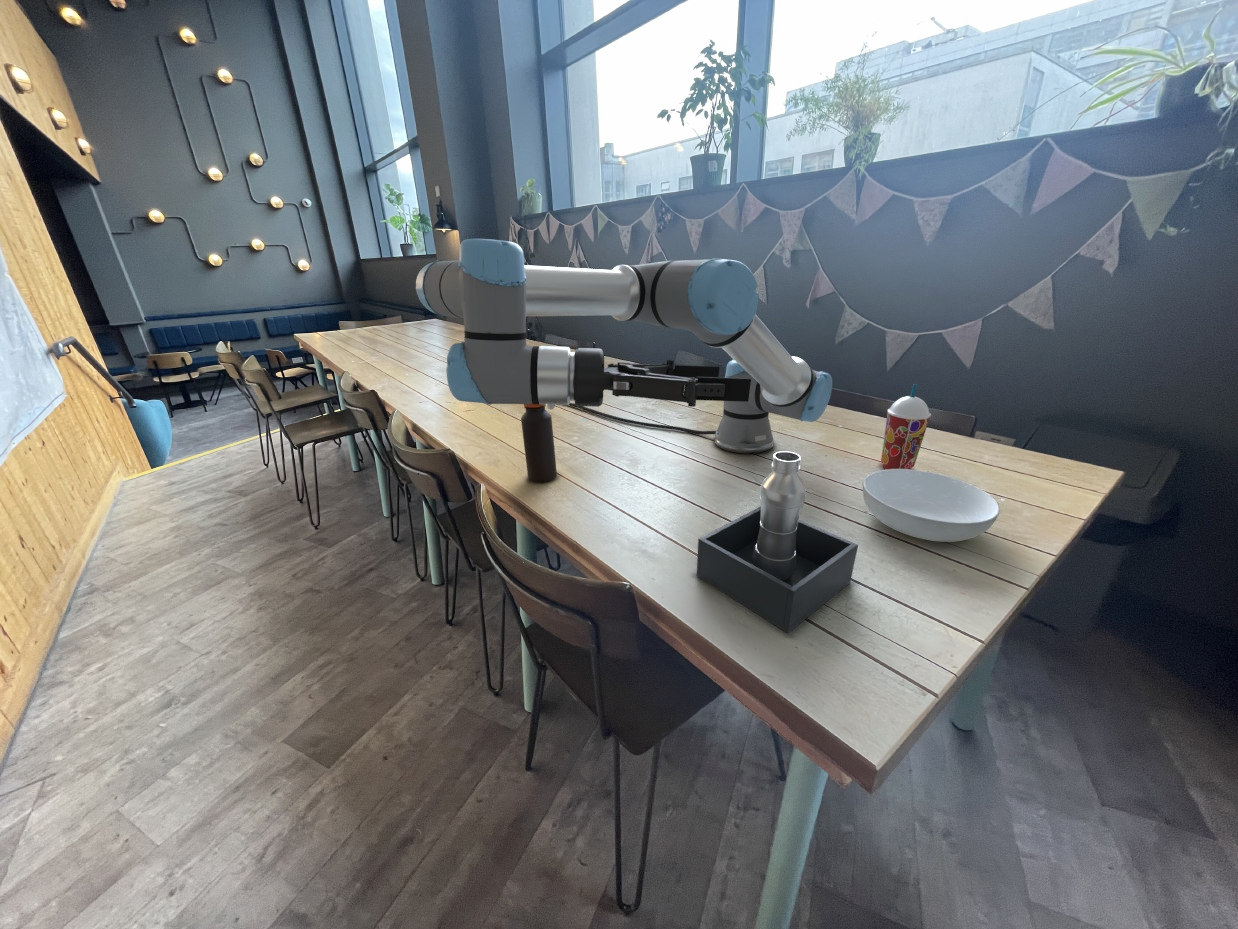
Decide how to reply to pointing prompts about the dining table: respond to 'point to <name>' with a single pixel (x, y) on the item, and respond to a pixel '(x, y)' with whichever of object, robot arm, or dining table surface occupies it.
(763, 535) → the silver metal bottle
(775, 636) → the dining table surface
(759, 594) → the bin
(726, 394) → the robot arm
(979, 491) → the serving bowl
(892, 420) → the smoothie
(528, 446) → the vinegar
